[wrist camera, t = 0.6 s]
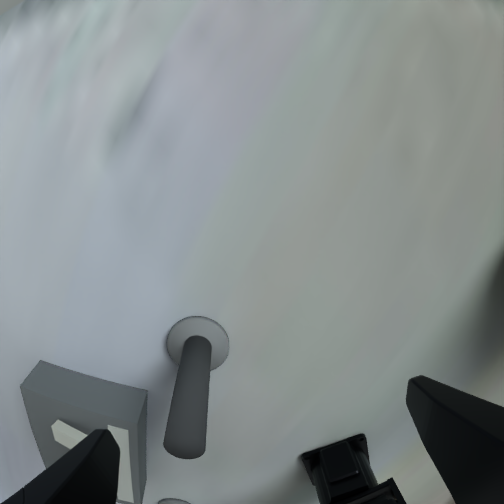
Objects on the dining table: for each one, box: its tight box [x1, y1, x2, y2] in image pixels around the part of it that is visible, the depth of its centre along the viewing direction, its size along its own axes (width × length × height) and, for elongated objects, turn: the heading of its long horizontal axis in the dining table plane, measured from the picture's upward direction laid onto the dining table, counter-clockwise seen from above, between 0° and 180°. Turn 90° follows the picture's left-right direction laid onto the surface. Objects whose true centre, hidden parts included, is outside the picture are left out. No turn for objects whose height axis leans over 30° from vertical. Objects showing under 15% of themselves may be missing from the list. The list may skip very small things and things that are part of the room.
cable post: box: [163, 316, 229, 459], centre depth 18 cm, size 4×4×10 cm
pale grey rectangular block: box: [51, 420, 88, 449], centre depth 19 cm, size 3×2×1 cm, turn 78°
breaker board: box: [20, 360, 147, 504], centre depth 23 cm, size 10×14×4 cm
